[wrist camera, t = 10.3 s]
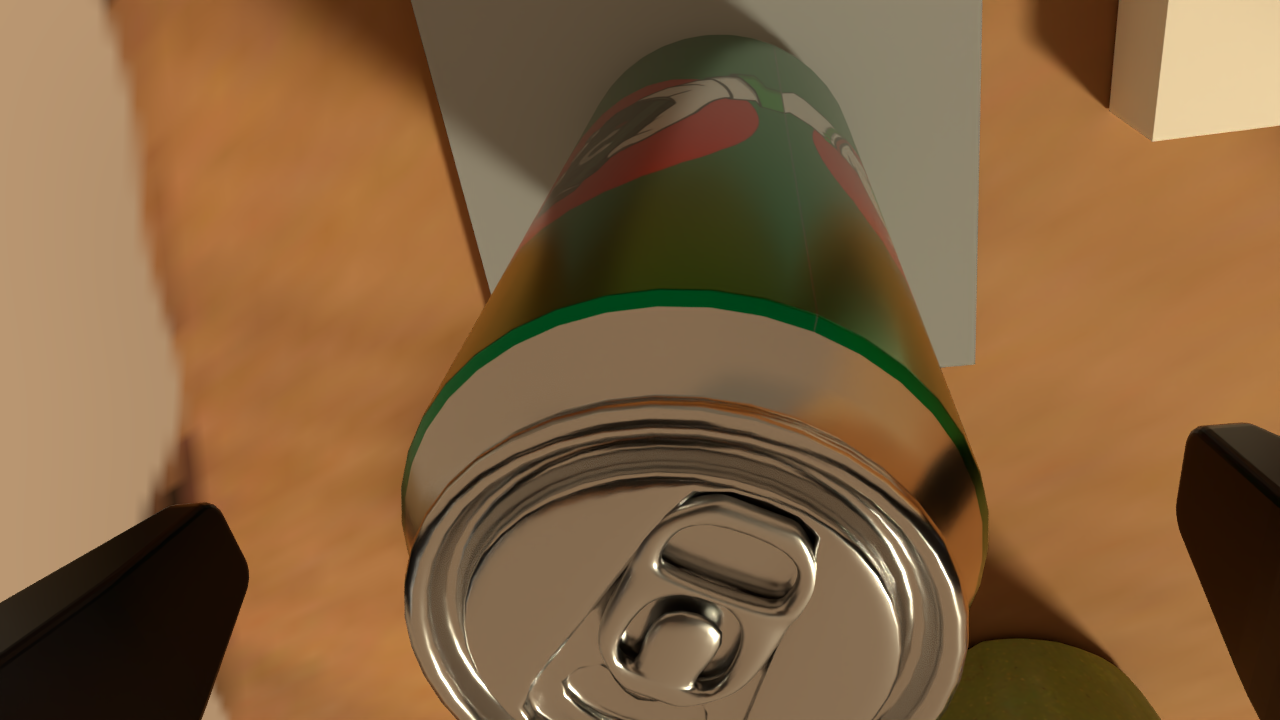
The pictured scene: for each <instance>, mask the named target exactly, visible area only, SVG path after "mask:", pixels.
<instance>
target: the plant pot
mask: <svg viewBox="0 0 1280 720" xmlns="http://www.w3.org/2000/svg"><path fill="white" fill-rule="evenodd" d="M939 720H1161V719H1160V717H1159V716H1158V715H1157V713H1156V712H1155V710H1154V709H1153V707H1152V706H1151V705H1150V703H1149V702H1148V701H1147V699H1146V698H1145V697H1144V695H1143V694H1142V693H1141V691H1140V690H1139V689H1138V688H1137V687H1136V686H1135V685H1134V683H1133V682H1132V681H1131V680H1130V679H1129V678H1128V677H1127V676H1126V675H1125V674H1124V673H1123V672H1122V671H1121V670H1119V669H1118V668H1117V667H1116V666H1115V665H1113V664H1111V663H1110V662H1108V661H1107V660H1105V659H1103V658H1101V657H1099V656H1097V655H1095V654H1092V653H1090V652H1087V651H1085V650H1082V649H1079V648H1076V647H1073V646H1070V645H1066V644H1063V643H1059V642H1053V641H1046V640H1036V639H998V640H990V641H984V642H981V643H979V644H977V645H975V646H974V647H972V648H971V649H969V650H967V655H966V659H965V663H964V668H963V672H962V677H961V681H960V683H959V685H958V687H957V689H956V691H955V694H954V696H953V698H952V700H951V702H950V704H949V706H948V708H947V710H946V711H945V713H944V714H943V715H942V717H941V718H940V719H939Z"/></svg>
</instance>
